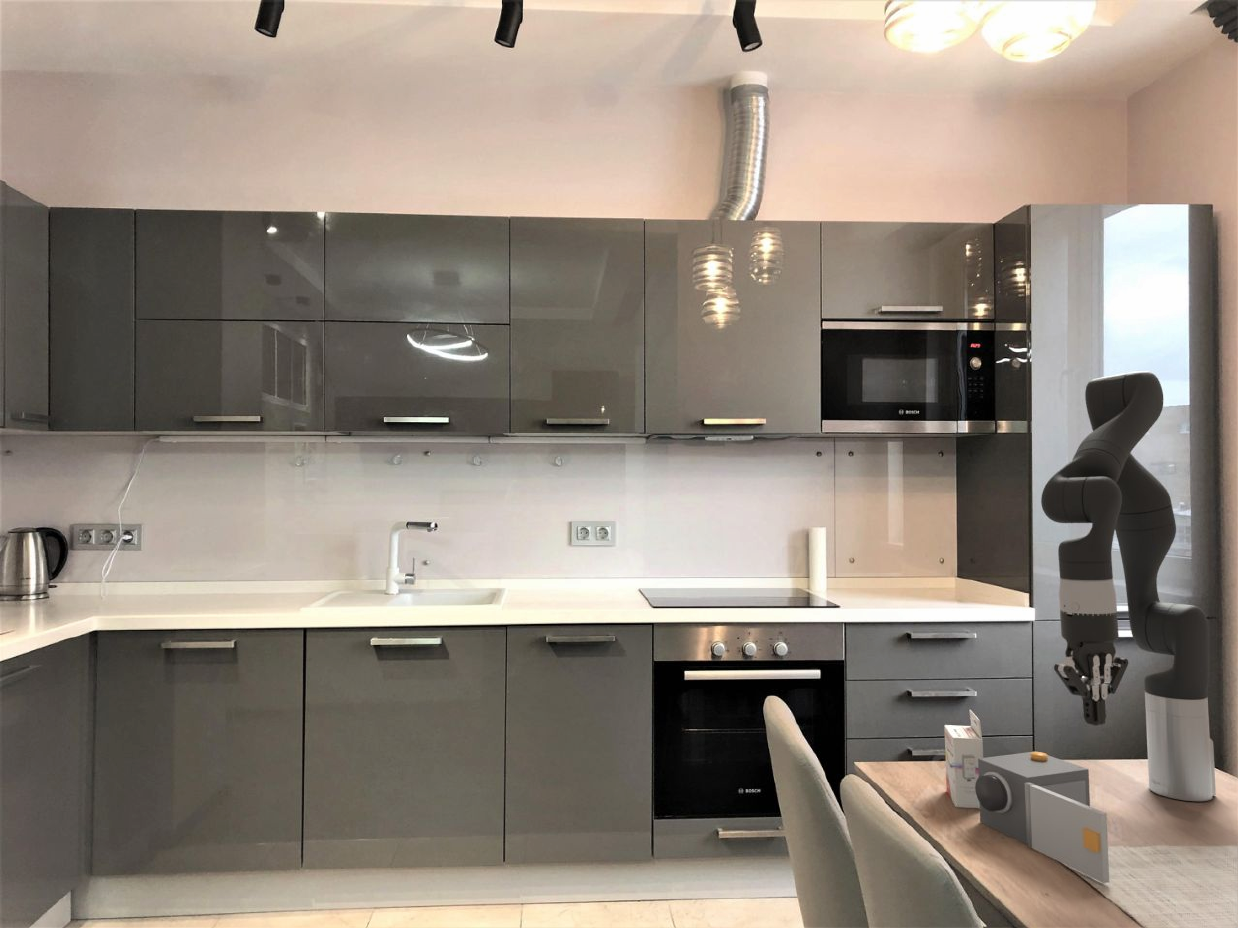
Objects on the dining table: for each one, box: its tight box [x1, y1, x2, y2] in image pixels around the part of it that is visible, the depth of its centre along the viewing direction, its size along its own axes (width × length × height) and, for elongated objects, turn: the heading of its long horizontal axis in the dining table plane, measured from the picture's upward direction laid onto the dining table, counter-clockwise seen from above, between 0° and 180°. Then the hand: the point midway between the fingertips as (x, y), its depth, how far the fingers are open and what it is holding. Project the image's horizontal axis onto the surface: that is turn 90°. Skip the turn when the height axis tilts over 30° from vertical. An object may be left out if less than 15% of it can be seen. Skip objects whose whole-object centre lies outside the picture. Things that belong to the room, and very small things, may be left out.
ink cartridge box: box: [943, 709, 984, 809], centre depth 140 cm, size 9×5×15 cm, turn 168°
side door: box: [1025, 782, 1110, 884], centre depth 114 cm, size 13×2×9 cm, turn 18°
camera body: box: [975, 750, 1091, 846], centre depth 127 cm, size 14×10×11 cm
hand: (1095, 723), depth 121 cm, fingers closed
